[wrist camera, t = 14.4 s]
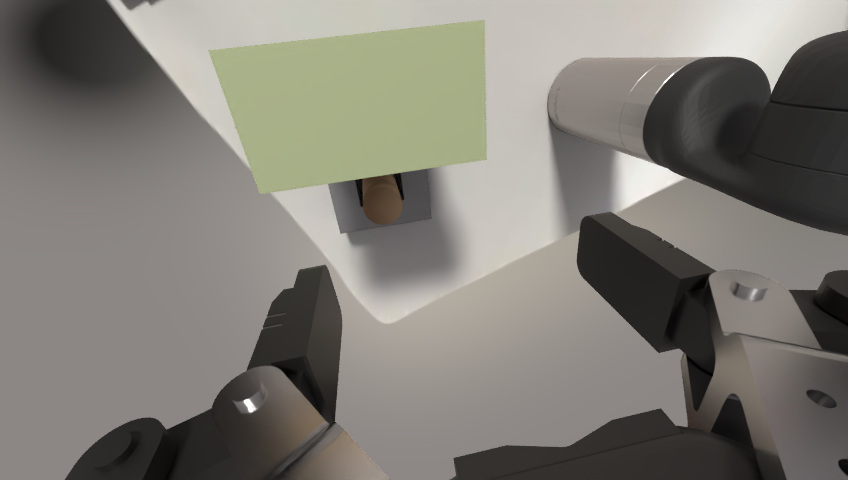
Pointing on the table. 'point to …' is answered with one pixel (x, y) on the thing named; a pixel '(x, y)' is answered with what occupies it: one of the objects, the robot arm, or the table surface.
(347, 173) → the socket base
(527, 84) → the table surface
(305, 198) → the table surface
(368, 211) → the peg
